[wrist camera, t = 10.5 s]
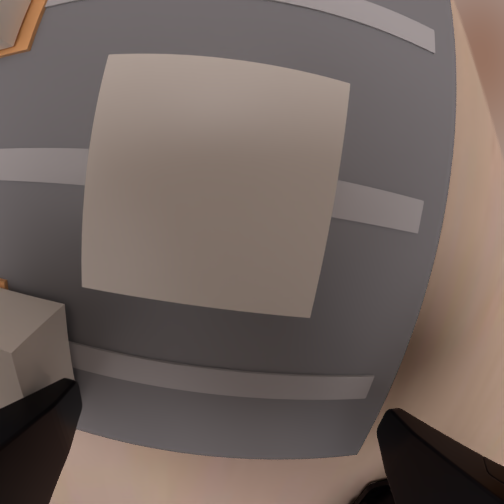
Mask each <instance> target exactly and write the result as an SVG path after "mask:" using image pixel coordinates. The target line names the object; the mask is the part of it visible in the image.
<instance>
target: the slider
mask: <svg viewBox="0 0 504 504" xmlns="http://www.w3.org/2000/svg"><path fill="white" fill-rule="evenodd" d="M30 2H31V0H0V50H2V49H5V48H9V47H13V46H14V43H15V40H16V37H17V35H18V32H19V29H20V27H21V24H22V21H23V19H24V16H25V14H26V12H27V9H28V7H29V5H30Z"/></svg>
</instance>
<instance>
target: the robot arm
mask: <svg viewBox="0 0 504 504" xmlns="http://www.w3.org/2000/svg"><path fill="white" fill-rule="evenodd" d="M81 411H82V398H81V393H80V387H79V384H78V382H77V381H75V380H72V379H69V378H62V379H60V380H58V381H56V382H54V383H52V384H50V385H48V386H46V387H44V388H42V389H40V390H38V391H36V392H34V393H32V394H30V395H28V396H26V397H24V398H21V399H19V400H17V401H15V402H13V403H11V404H9V405H7V406H5V407H3V408H1V409H0V504H49V502H50V499H51V497H52V494H53V491H54V489H55V486H56V484H57V481H58V479H59V476H60V474H61V471H62V469H63V466H64V464H65V461H66V459H67V456H68V454H69V451H70V448H71V445H72V441H73V438H74V434H75V431H76V427H77V424H78V421H79V417H80V414H81ZM377 438H378V442H379V446H380V451H381V455H382V460H383V464H384V469H385V473H386V476H387V479H388V480H385V481H380V482H375V483H372V484H370V485H369V486H367V487H366V488H365V490H364V491H363V492H362V494H361V495H360V496H359V498H358V499H357V500H356V502H355V503H354V504H504V466H502V465H500V464H497V463H495V462H493V461H492V460H490V459H488V458H486V457H483V456H482V455H480V454H478V453H477V452H475V451H473V450H471V449H469V448H468V447H466V446H464V445H462V444H460V443H459V442H457V441H455V440H453V439H451V438H450V437H448V436H446V435H444V434H443V433H441V432H439V431H438V430H436V429H434V428H432V427H431V426H429V425H427V424H426V423H424V422H422V421H421V420H419V419H417V418H416V417H414V416H412V415H411V414H409V413H407V412H406V411H404V410H402V409H400V408H394V409H389V410H387V411H386V413H385V414H384V416H383V418H382V420H381V422H380V424H379V426H378V428H377Z"/></svg>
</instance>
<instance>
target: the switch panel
mask: <svg viewBox="0 0 504 504" xmlns="http://www.w3.org/2000/svg"><path fill="white" fill-rule="evenodd" d="M109 54H179V55H195V56H208V57H218V58H227V59H235V60H243V61H250V62H256V63H263V64H268V65H274V66H279V67H285V68H290V69H294V70H299V71H304V72H308V73H312V74H317V75H321V76H325V77H329V78H332V79H336V80H340V81H343V82H347V83H350V92H349V101H348V110H347V118H346V126H345V134H344V141H343V148H342V155H341V162H340V168H339V175H338V181H337V187H336V193H335V199H334V205H333V210H332V216H331V221H330V227H329V232H328V237H327V242H326V247H325V252H324V257H323V262H322V267H321V272H320V276H319V281H318V285H317V290H316V294H315V299H314V303H313V307H312V312H311V316H310V318H303V317H292V316H281V315H271V314H261V313H252V312H243V311H235V310H226V309H218V308H210V307H202V306H195V305H188V304H181V303H174V302H167V301H160V300H154V299H147V298H141V297H135V296H129V295H123V294H117V293H112V292H106V291H101V290H95V289H90V288H84V287H82V269H81V253H82V220H83V203H84V190H85V180H86V170H87V162H88V154H89V147H90V140H91V134H92V127H93V122H94V116H95V111H96V106H97V101H98V96H99V91H100V87H101V82H102V78H103V74H104V70H105V66H106V62H107V59H108V55H109ZM455 119H456V54H455V39H454V27H453V18H452V10H451V3H450V0H31V2H30V5H29V7H28V9H27V12H26V14H25V16H24V19H23V21H22V24H21V27H20V29H19V32H18V35H17V37H16V40H15V43H14V46H13V47H9V48H5V49H2V50H0V288H3V289H7V290H10V291H14V292H18V293H22V294H25V295H29V296H33V297H37V298H41V299H45V300H50V301H54V302H58V303H62V304H65V313H66V323H67V333H68V341H69V348H70V355H71V362H72V368H73V374H74V380H75V381H77V382H78V384H79V387H80V393H81V398H82V411H81V414H80V417H79V421H78V424H77V427H76V429H78V430H81V431H84V432H88V433H91V434H94V435H98V436H102V437H106V438H109V439H113V440H118V441H122V442H126V443H131V444H135V445H140V446H145V447H150V448H156V449H161V450H167V451H174V452H180V453H188V454H196V455H205V456H215V457H227V458H243V459H311V458H327V457H339V456H349V455H357V454H358V452H359V450H360V448H361V446H362V445H363V443H364V441H365V439H366V437H367V435H368V433H369V432H370V430H371V428H372V426H373V424H374V422H375V420H376V418H377V416H378V414H379V412H380V410H381V408H382V405H383V403H384V401H385V399H386V397H387V395H388V392H389V390H390V388H391V386H392V383H393V381H394V379H395V376H396V374H397V372H398V369H399V367H400V364H401V362H402V359H403V357H404V354H405V352H406V349H407V346H408V344H409V341H410V338H411V335H412V333H413V330H414V327H415V324H416V321H417V318H418V315H419V312H420V309H421V306H422V302H423V299H424V296H425V293H426V289H427V286H428V282H429V278H430V275H431V271H432V267H433V263H434V259H435V255H436V251H437V247H438V242H439V238H440V233H441V228H442V223H443V218H444V213H445V207H446V201H447V195H448V189H449V182H450V174H451V166H452V157H453V147H454V135H455Z"/></svg>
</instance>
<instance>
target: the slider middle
mask: <svg viewBox="0 0 504 504" xmlns="http://www.w3.org/2000/svg"><path fill="white" fill-rule="evenodd" d="M349 92H350V83H347V82H343V81H340V80H336V79H332V78H329V77H325V76H321V75H317V74H312V73H308V72H304V71H299V70H294V69H290V68H285V67H279V66H274V65H268V64H263V63H256V62H250V61H243V60H235V59H227V58H218V57H208V56H195V55H179V54H109V55H108V59H107V62H106V66H105V70H104V74H103V78H102V82H101V87H100V91H99V96H98V101H97V106H96V111H95V116H94V122H93V127H92V134H91V140H90V147H89V154H88V162H87V170H86V180H85V190H84V203H83V220H82V253H81V269H82V287H84V288H90V289H95V290H101V291H106V292H112V293H117V294H123V295H129V296H135V297H141V298H147V299H154V300H160V301H167V302H174V303H181V304H188V305H195V306H202V307H210V308H218V309H226V310H235V311H243V312H252V313H261V314H271V315H281V316H292V317H303V318H310V316H311V312H312V307H313V303H314V299H315V294H316V290H317V285H318V281H319V276H320V272H321V267H322V262H323V257H324V252H325V247H326V242H327V237H328V232H329V227H330V221H331V216H332V210H333V205H334V199H335V193H336V187H337V181H338V175H339V168H340V162H341V155H342V148H343V141H344V134H345V126H346V118H347V110H348V101H349Z"/></svg>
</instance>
